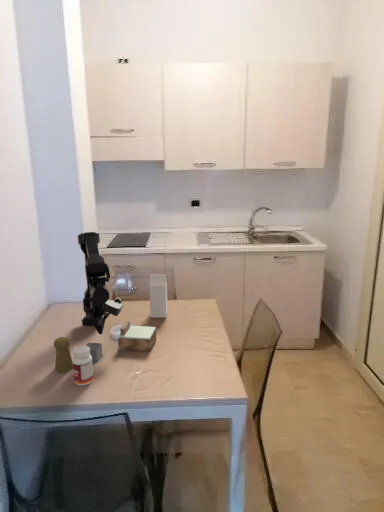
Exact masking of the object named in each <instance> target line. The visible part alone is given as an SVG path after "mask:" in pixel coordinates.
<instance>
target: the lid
mask: <svg viewBox="0 0 384 512" xmlns="http://www.w3.org/2000/svg"><path fill="white" fill-rule="evenodd" d="M155 329H156V330H157V327H156V326H147V325H146V326H143V325H131V321H130V320H129V321H128V320H125V322H124V323H123V324H122V326H121V327H120V329H119V330H120V331H119V334H118V336H117V339H118V338H123V339H140V340H150V338H151V337H152V335H153V333H154V331H155Z"/></svg>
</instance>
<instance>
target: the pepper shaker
mask: <svg viewBox="0 0 384 512" xmlns="http://www.w3.org/2000/svg"><path fill="white" fill-rule="evenodd" d="M70 344H71V340H70V338H68V337H67V336H60V337H59V336H58V337H57V338H56V339H54V342H53V347H54V348H55V365H54V366H55V368H54V370H55V372H57V373H68V372H70V371H73V365H72V355H71V352H70V351H71V350H70V348H69V347H70Z"/></svg>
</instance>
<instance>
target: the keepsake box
mask: <svg viewBox="0 0 384 512" xmlns="http://www.w3.org/2000/svg"><path fill="white" fill-rule="evenodd" d="M156 342H157V328H156V329H155V331H154V333H153V335H152V337H151V338H150V340H140V339H123V338H118V337H117V343H118V351H129V352H130V351H133V352H143V353H145V352H147V353H150V352H151V351H152V349H153V347H154V345H155V343H156Z"/></svg>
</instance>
